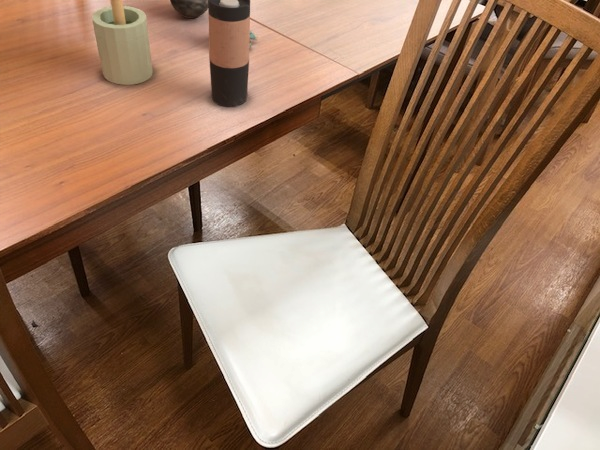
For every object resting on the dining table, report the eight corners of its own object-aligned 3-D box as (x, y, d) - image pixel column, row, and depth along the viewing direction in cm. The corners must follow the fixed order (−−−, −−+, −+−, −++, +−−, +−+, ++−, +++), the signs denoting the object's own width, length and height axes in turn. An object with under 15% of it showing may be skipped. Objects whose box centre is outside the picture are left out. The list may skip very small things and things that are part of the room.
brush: (111, 69, 106) (93, -32, 91) (127, 61, 108) (111, -38, 94) (127, 76, 104) (111, -25, 90) (142, 68, 107) (129, -32, 93)
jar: (92, 73, 105) (80, 16, 97) (127, 56, 112) (119, 1, 103) (128, 90, 102) (119, 33, 94) (162, 71, 109) (156, 16, 100)
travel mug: (203, 93, 104) (199, -6, 90) (234, 84, 108) (234, -13, 94) (224, 111, 100) (223, 11, 86) (255, 100, 104) (259, 3, 90)
